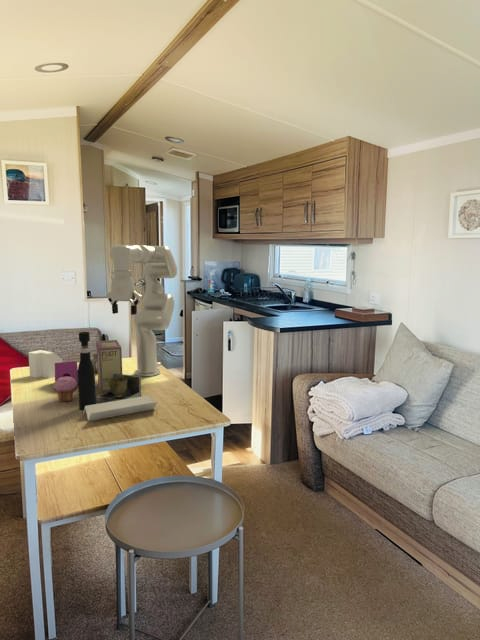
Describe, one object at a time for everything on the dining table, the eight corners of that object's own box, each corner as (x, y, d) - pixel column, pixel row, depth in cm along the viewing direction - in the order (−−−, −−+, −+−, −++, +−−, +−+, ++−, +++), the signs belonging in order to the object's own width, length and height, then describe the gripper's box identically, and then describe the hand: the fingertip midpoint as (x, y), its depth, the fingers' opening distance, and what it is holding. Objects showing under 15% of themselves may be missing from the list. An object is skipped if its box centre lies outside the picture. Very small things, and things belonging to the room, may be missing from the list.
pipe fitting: (111, 371, 242) (108, 351, 241) (95, 374, 238) (92, 354, 237) (104, 368, 252) (101, 349, 251) (89, 372, 248) (86, 352, 247)
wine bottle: (80, 412, 184) (76, 334, 179) (78, 407, 189) (73, 332, 185) (98, 409, 187) (94, 333, 182) (94, 404, 192) (91, 330, 188)
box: (98, 384, 221) (96, 341, 218) (118, 382, 224) (116, 339, 221) (101, 394, 206) (99, 348, 203) (123, 392, 209) (121, 346, 206)
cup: (131, 397, 198) (130, 378, 197) (116, 401, 193) (115, 382, 192) (121, 393, 203) (120, 375, 202) (106, 397, 198) (105, 378, 197)
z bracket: (86, 428, 179) (82, 413, 182) (150, 416, 191) (146, 402, 194) (90, 413, 170) (87, 398, 173) (157, 401, 183) (153, 387, 186)
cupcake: (52, 404, 193) (51, 379, 192) (57, 397, 202) (56, 374, 200) (75, 403, 194) (74, 378, 193) (79, 396, 203) (78, 373, 201)
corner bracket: (30, 376, 235) (28, 352, 233) (50, 371, 244) (49, 348, 242) (43, 379, 229) (41, 355, 227) (63, 374, 238) (62, 350, 236)
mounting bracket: (79, 402, 214) (77, 375, 229) (78, 387, 210) (77, 361, 224) (56, 404, 211) (55, 377, 226) (55, 390, 207) (54, 362, 221)
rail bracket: (115, 393, 206) (114, 373, 205) (141, 397, 202) (140, 376, 200) (95, 402, 194) (94, 381, 193) (122, 406, 190) (121, 384, 188)
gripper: (100, 274, 207) (102, 314, 210) (134, 275, 201) (136, 316, 204) (111, 273, 214) (113, 311, 217) (144, 274, 208) (146, 313, 210)
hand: (124, 313), depth 210 cm, fingers open, 9 cm apart
